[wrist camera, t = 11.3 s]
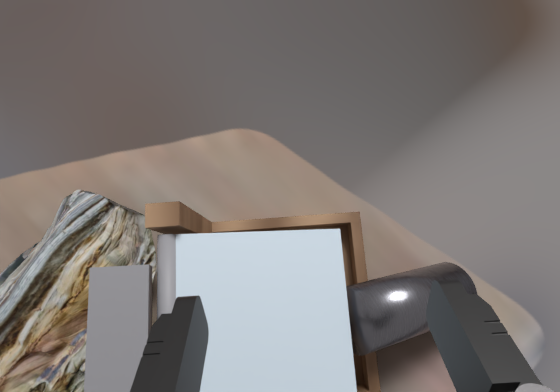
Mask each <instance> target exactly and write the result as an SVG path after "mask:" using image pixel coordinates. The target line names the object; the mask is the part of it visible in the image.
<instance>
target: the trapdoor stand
mask: <svg viewBox="0 0 560 392" xmlns="http://www.w3.org/2000/svg"><path fill="white" fill-rule="evenodd" d="M145 228H147V229H151V230H154V231H157V232H160V233H163V234H197V233H226V232H255V231H284V230H314V229H340V233H341V242H342V252H343V262H344V271H345V281H346V286H349V285H353V284H357V283H361V282H365V281H368V279H367V271H366V262H365V254H364V245H363V236H362V228H361V219H360V212H349V213H335V214H321V215H307V216H293V217H280V218H266V219H252V220H238V221H224V222H210V221H209V220H207V219H206V218H204V217H203V216H201V215H200V214H198V213H197V212H195V211H193V210H192V209H190V208H189V207H187V206H186V205H184V204H183V203H181V202H179V201H178V202H165V203H151V204H145ZM353 358H354V368H355V377H356V387H357V392H381V391H380V382H379V374H378V365H377V356H376V351H375V352H372V353H369V354H366V355H363V356H359V355H356V354H354V353H353Z"/></svg>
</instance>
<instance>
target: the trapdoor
mask: <svg viewBox="0 0 560 392" xmlns="http://www.w3.org/2000/svg"><path fill="white" fill-rule="evenodd" d="M198 295H199V296H200V298H201V301H202V305H203V308H204V312H205V315H206V319H207V323H208V330H209V336H208V345H207V351H206V357H205V363H204V369H203V375H202V380H201V386H200V392H357V387H356V377H355V368H354V358H353V349H352V339H351V329H350V320H349V310H348V300H347V291H346V281H345V271H344V262H343V252H342V242H341V233H340V229H314V230H284V231H255V232H226V233H197V234H162V235H158V246H157V319H158V318H159V317H160V315H161V314H168V313H172V310H173V306H174V303H175V300H176V298H177V297H183V296H198ZM151 327H152V266H151V265H149V264H148V265H129V266H111V267H93V268H90V274H89V295H88V316H87V337H86V358H85V378H84V392H130V390H131V387H132V384H133V381H134V378H135V375H136V372H137V369H138V366H139V363H140V360H141V357H142V356H143V351H144V348H145V345H146V344H147V339H148V336H149V333H150V330H151Z"/></svg>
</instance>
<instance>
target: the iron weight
mask: <svg viewBox="0 0 560 392" xmlns="http://www.w3.org/2000/svg"><path fill="white" fill-rule="evenodd" d="M448 279H458V280H459V281H460V282H461V284H462V285H463V287H464V289H465V290H466V292H467V293H468V294H477V291H476V288H475V285H474V283H473V281H472V279H471V278H470V276H469V275H468V274H467V273H466V272H465V271H464V270H463V269H462V268H460V267H459V266H457V265H455V264H452V263H447V262H444V263H439V264H435V265H431V266H427V267H422V268H418V269H414V270H410V271H406V272H402V273H398V274H394V275H390V276H386V277H382V278H378V279H373V280H369V281H365V282H361V283H357V284H353V285H349V286H346V291H347V300H348V310H349V320H350V329H351V339H352V349H353V353H354V354H356V355H359V356H363V355H366V354H369V353H372V352H375V351H377V350H380V349H383V348H385V347H388V346H391V345H394V344H396V343H399V342H402V341H404V340H407V339H410V338H413V337H415V336H418V335H421V334H423V333H426V332H429V331H430V329H429V326H428V323H427V318H426V309H427V304H428V300H429V295H430V290H431V286H432V282H433V281H434V280H448Z"/></svg>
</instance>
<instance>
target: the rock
mask: <svg viewBox="0 0 560 392" xmlns="http://www.w3.org/2000/svg"><path fill="white" fill-rule="evenodd" d="M38 243H39V242H38ZM38 243H36V244H35V245H34V246H32V247H31V248H30V249H28V250H27V251H25V252H24V253H22V254H21V255H20V256H19V257H18V258H17V259H16V260H15V261H13V262H12V263H11V264H10V265H9V266H8V267H7V268H6V269H5V270H4V271H3V272H2V273H1V274H0V392H84V378H85V358H86V337H87V316H88V295H89V274H90V268H93V267H111V266H129V265H148V264H149V265H151V266H152V283H153V280H154V276H155V274H156V272H157V262H156V252H155V247H154V243H153V238H152V234H151V230H150V229H147V228H145V216H144V215H143V214H141V213H139V212H136V211H134V210H132V209H129V208H127V207H124V206H122V205H120V204H118V203H116V202H114V201H112V200H110V199H107V198H105V197H103V196H101V195H98V194H95V193H92V192H88V191H82V190H76V191H75V192H73V194H71V195H69V196H67V197H66V198H64V200H63V202H62V204H61V206H60V208H59V210H58V212H57V214H56V216H55V219H54V221H53V223H52V226H51V227H49V228H48V229H47V233H46V234H45V236H44V237H43V238H42V241H41V242H40V243H39V245H38V246H36V245H37V244H38ZM35 246H36V248H35V250H34V251H33V252H32V253H31V254H30V255H29V253H30V251H31V250H32V248H34V247H35ZM28 255H29V256H28Z"/></svg>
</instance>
